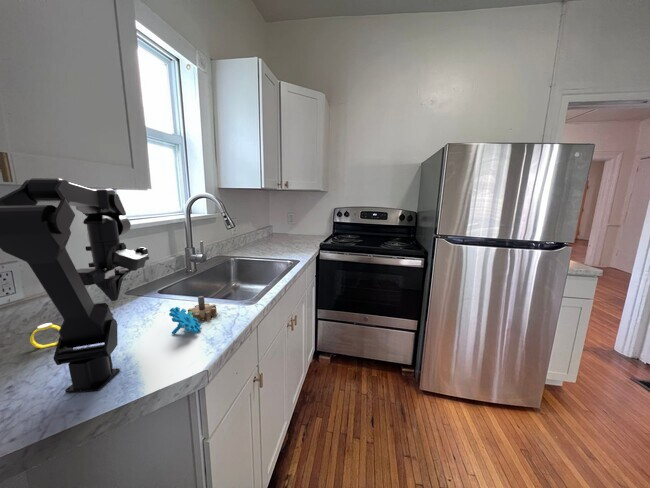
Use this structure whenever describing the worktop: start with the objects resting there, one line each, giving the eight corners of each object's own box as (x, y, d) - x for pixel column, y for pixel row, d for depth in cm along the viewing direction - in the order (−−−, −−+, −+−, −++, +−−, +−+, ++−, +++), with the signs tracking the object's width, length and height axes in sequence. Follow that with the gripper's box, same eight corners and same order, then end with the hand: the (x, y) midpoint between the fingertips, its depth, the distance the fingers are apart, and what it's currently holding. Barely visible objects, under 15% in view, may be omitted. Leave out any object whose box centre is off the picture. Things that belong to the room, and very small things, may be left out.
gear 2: (211, 321, 82) (209, 301, 81) (183, 322, 81) (180, 302, 80) (220, 309, 90) (219, 291, 89) (194, 310, 90) (192, 292, 89)
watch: (32, 353, 67) (25, 331, 65) (36, 348, 69) (28, 327, 68) (64, 343, 70) (58, 323, 69) (67, 339, 72) (60, 319, 71)
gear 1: (197, 334, 71) (167, 311, 70) (181, 351, 71) (150, 328, 69) (207, 321, 82) (180, 300, 80) (193, 335, 82) (166, 315, 80)
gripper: (109, 247, 56) (120, 316, 59) (159, 234, 75) (166, 287, 78) (55, 248, 56) (69, 317, 59) (119, 235, 74) (127, 287, 77)
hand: (114, 300), depth 68 cm, fingers closed
